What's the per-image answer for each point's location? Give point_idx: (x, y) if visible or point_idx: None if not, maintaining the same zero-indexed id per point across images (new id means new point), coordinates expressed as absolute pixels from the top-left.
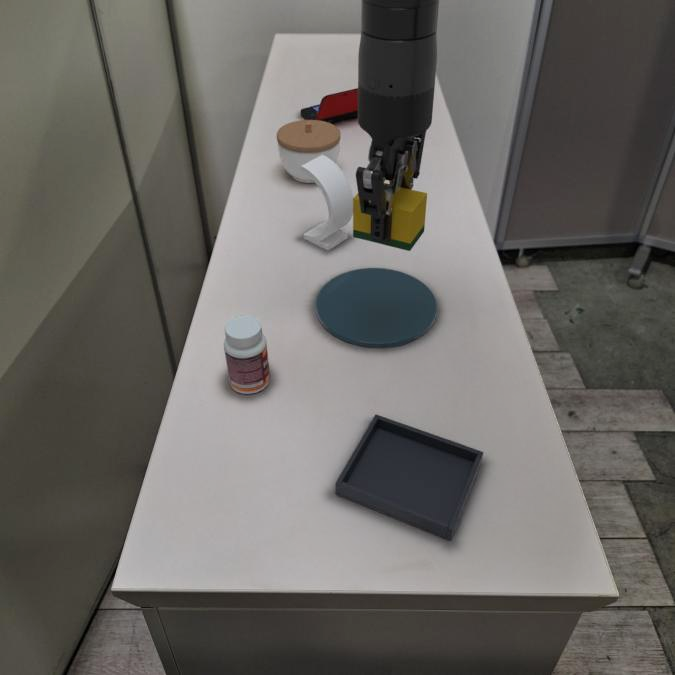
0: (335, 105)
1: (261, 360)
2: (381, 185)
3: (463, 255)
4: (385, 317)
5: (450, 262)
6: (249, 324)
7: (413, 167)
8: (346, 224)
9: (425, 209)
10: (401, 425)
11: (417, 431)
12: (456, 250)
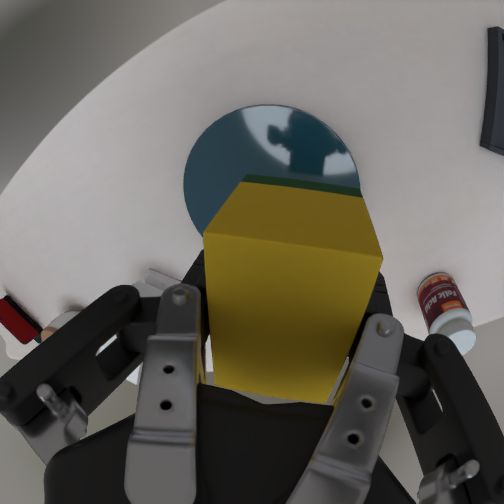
0: (20, 328)
1: (460, 300)
2: (493, 452)
3: (107, 121)
4: (296, 174)
5: (127, 130)
6: (454, 342)
7: (178, 368)
8: (140, 281)
9: (232, 202)
10: (497, 117)
11: (499, 98)
12: (102, 134)
